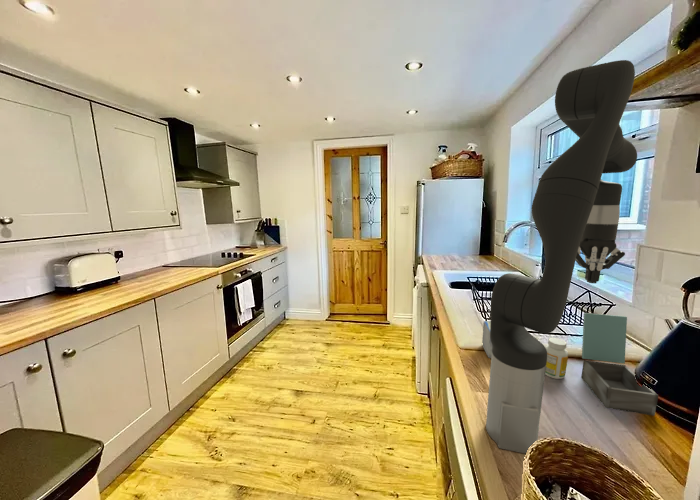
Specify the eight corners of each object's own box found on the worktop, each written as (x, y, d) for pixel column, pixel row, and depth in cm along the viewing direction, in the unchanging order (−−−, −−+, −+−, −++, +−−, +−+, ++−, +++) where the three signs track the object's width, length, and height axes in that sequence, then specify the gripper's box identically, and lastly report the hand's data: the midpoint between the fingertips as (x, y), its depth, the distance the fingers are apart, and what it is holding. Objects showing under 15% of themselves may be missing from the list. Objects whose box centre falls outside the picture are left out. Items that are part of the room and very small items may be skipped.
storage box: (654, 415, 65) (658, 395, 64) (605, 408, 67) (608, 388, 66) (622, 382, 76) (625, 365, 75) (581, 377, 79) (583, 360, 78)
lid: (627, 316, 75) (625, 316, 76) (585, 313, 78) (583, 312, 79) (624, 363, 75) (622, 362, 76) (583, 358, 78) (581, 357, 79)
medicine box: (503, 359, 88) (506, 332, 86) (487, 358, 89) (489, 331, 87) (496, 346, 95) (498, 321, 94) (481, 345, 96) (483, 320, 95)
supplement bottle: (545, 377, 79) (549, 344, 77) (538, 366, 84) (542, 335, 82) (568, 381, 77) (573, 347, 75) (560, 369, 82) (564, 337, 80)
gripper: (578, 222, 79) (570, 284, 82) (638, 223, 75) (627, 288, 79) (566, 220, 86) (559, 277, 89) (621, 220, 83) (612, 280, 86)
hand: (591, 282), depth 84 cm, fingers closed
